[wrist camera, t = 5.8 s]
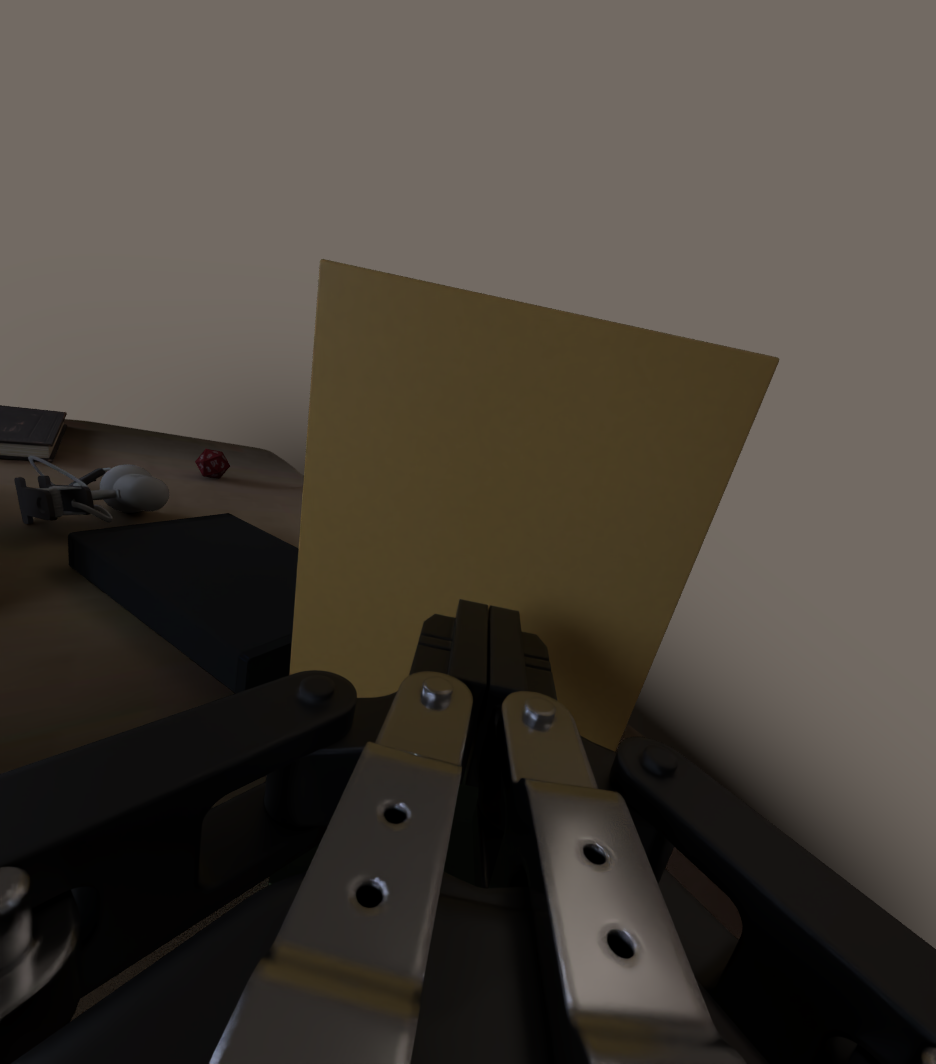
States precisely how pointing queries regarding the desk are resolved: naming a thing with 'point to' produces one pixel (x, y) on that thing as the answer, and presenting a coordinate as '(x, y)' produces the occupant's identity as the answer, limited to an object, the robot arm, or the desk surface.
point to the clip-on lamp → (91, 493)
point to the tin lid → (506, 481)
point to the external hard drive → (202, 590)
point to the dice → (212, 463)
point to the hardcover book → (30, 433)
